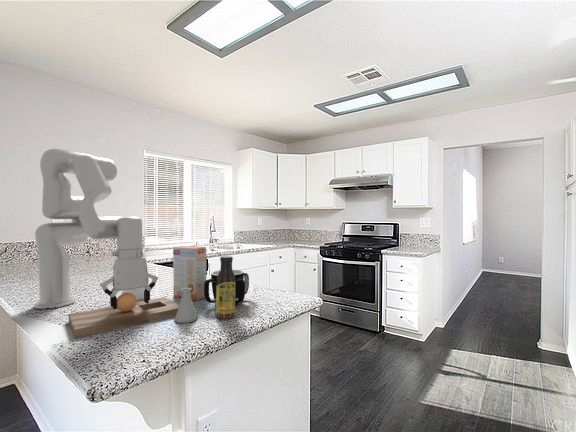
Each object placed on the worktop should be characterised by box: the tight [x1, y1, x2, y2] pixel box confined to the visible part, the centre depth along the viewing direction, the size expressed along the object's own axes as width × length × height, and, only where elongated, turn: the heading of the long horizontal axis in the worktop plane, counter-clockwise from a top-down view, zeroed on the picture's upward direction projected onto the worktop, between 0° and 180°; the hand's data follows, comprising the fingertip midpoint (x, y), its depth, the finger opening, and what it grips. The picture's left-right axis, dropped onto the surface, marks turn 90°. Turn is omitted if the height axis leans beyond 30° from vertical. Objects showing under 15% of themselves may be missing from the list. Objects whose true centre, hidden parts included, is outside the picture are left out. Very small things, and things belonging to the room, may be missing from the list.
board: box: [68, 296, 180, 339], centre depth 101 cm, size 18×30×2 cm, turn 130°
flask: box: [173, 288, 199, 324], centre depth 98 cm, size 7×7×10 cm
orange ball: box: [117, 293, 138, 312], centre depth 100 cm, size 6×6×6 cm
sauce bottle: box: [215, 255, 236, 320], centre depth 101 cm, size 6×6×20 cm
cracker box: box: [172, 245, 207, 301], centre depth 126 cm, size 14×6×21 cm, turn 58°
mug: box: [204, 269, 250, 306], centre depth 116 cm, size 16×16×12 cm
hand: (130, 305), depth 101 cm, fingers open, 9 cm apart
